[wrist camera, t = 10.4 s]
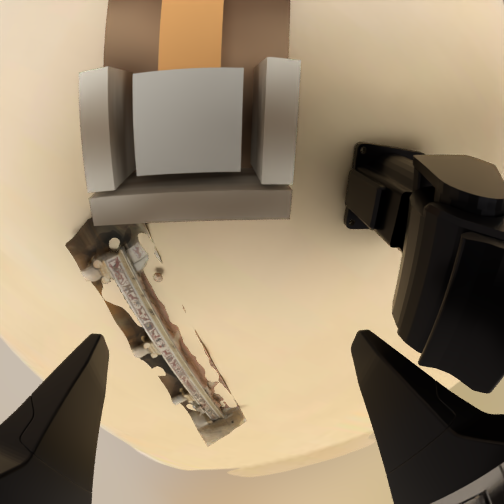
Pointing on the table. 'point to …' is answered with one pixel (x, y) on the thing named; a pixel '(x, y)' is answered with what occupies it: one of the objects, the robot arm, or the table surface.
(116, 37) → the cable board
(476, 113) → the table surface
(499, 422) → the robot arm
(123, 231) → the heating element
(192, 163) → the tan bar grey block
